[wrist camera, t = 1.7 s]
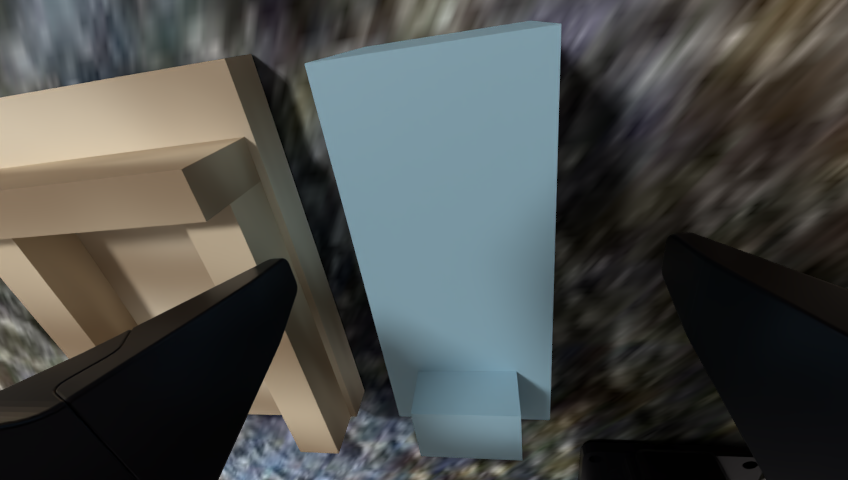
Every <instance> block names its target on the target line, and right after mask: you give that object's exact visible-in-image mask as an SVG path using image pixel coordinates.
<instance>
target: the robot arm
mask: <svg viewBox="0 0 848 480" xmlns="http://www.w3.org/2000/svg"><path fill="white" fill-rule="evenodd" d="M662 275H663V278H664V280H665V283H666V285H667V288H668V291H669V293H670V296H671V298H672V301H673V303H674V306H675V308H676V311H677V313H678V316H679V318H680V321H681V323H682V326H683V328H684V330H685V333H686V335H687V337H688V339H689V341H690V343H691V345H692V346H693V348H694V350H695V352H696V354H697V355H698V357H699V359H700V361H701V363H702V365H703V366H704V368H705V370H706V372H707V374H708V375H709V377H710V379H711V381H712V383H713V384H714V386H715V388H716V390H717V392H718V393H719V395H720V397H721V399H722V401H723V403H724V404H725V406H726V408H727V410H728V412H729V413H730V415H731V417H732V419H733V421H734V422H735V424H736V426H737V428H738V430H739V431H740V433H741V435H742V437H743V439H744V441H745V442H746V444H747V446H748V447H731V446H699V445H667V444H635V443H603V442H590V443H586V444H584V445H583V446H582V447H581V449H580V461H579V473H578V480H759V477H760V475H761V473H763V475H764V477H765V479H766V480H848V289H845V288H842V287H840V286H837V285H834V284H831V283H829V282H826V281H823V280H820V279H818V278H815V277H812V276H809V275H807V274H804V273H801V272H798V271H796V270H793V269H790V268H787V267H785V266H782V265H779V264H777V263H774V262H771V261H768V260H766V259H763V258H760V257H757V256H755V255H752V254H749V253H746V252H744V251H741V250H738V249H735V248H733V247H730V246H727V245H724V244H722V243H719V242H716V241H713V240H711V239H708V238H705V237H702V236H700V235H697V234H694V233H674V234H671V235H669V236H668V238H667V241H666V246H665V252H664V257H663V263H662ZM297 290H298V287H297V282H296V280H295V277H294V275H293V272H292V269H291V267H290V264H289V262H288V261H287V260H286V259H284V258H275V259H269V260H267V261H265V262H263V263H261V264H259V265H257V266H255V267H253V268H251V269H249V270H247V271H245V272H243V273H241V274H239V275H237V276H235V277H233V278H231V279H229V280H227V281H225V282H223V283H221V284H219V285H217V286H215V287H213V288H211V289H209V290H207V291H205V292H203V293H201V294H199V295H197V296H195V297H193V298H191V299H189V300H187V301H185V302H183V303H181V304H179V305H177V306H175V307H173V308H171V309H169V310H167V311H165V312H163V313H161V314H159V315H157V316H155V317H153V318H151V319H149V320H147V321H145V322H143V323H141V324H139V325H137V326H136V327H134V328H133V329H132V330H127V331H125V332H123V333H121V334H119V335H118V336H116V337H114V338H112V339H109V340H107V341H105V342H103V343H101V344H99V345H97V346H95V347H93V348H91V349H89V350H87V351H85V352H83V353H81V354H79V355H77V356H74V357H72V358H70V359H68V360H66V361H64V362H62V363H60V364H57V365H55V366H53V367H51V368H49V369H47V370H44V371H42V372H40V373H38V374H36V375H34V376H31V377H29V378H27V379H25V380H23V381H21V382H18V383H16V384H14V385H12V386H10V387H8V388H5V389H3V390H1V391H0V480H218V479H219V477H220V475H221V473H222V470H223V468H224V466H225V464H226V462H227V459H228V457H229V455H230V453H231V451H232V448H233V446H234V444H235V442H236V440H237V437H238V435H239V433H240V431H241V429H242V426H243V424H244V422H245V420H246V418H247V415H248V413H249V411H250V409H251V407H252V404H253V402H254V400H255V398H256V396H257V393H258V391H259V389H260V387H261V385H262V382H263V380H264V378H265V376H266V374H267V371H268V369H269V367H270V365H271V363H272V360H273V358H274V356H275V354H276V352H277V349H278V347H279V345H280V342H281V340H282V337H283V334H284V331H285V328H286V325H287V322H288V319H289V316H290V313H291V310H292V307H293V304H294V301H295V298H296V295H297Z"/></svg>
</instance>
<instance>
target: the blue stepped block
mask: <svg viewBox="0 0 848 480" xmlns="http://www.w3.org/2000/svg"><path fill="white" fill-rule="evenodd" d="M560 55H561V24H558V23H549V22H539V21H527V22H520V23H514V24H508V25H501V26H495V27H489V28H482V29H476V30H469V31H463V32H457V33H450V34H444V35H438V36H431V37H425V38H419V39H412V40H406V41H400V42H393V43H387V44H381V45H374V46H368V47H363V48H359V49H356V50H352V51H348V52H345V53H341V54H337V55H334V56H330V57H326V58H323V59H319V60H315V61H312V62H308V63H304V64H305V68H306V71H307V75H308V79H309V82H310V86H311V90H312V94H313V97H314V101H315V105H316V108H317V112H318V116H319V119H320V123H321V127H322V131H323V134H324V138H325V142H326V145H327V149H328V153H329V156H330V160H331V164H332V168H333V171H334V175H335V179H336V182H337V186H338V190H339V193H340V197H341V201H342V205H343V208H344V212H345V216H346V219H347V223H348V227H349V231H350V234H351V238H352V242H353V245H354V249H355V253H356V256H357V260H358V264H359V268H360V271H361V275H362V279H363V282H364V286H365V290H366V293H367V297H368V301H369V305H370V308H371V312H372V316H373V319H374V323H375V327H376V331H377V334H378V338H379V342H380V345H381V349H382V353H383V356H384V360H385V364H386V368H387V371H388V375H389V379H390V382H391V386H392V390H393V393H394V397H395V401H396V405H397V408H398V412H399V416H405V417H412V421H413V425H414V429H415V433H416V437H417V441H418V445H419V449H420V453H421V456H433V457H456V458H479V459H502V460H522V433H521V419H529V420H550V400H551V366H552V331H553V297H554V262H555V228H556V193H557V159H558V124H559V90H560Z"/></svg>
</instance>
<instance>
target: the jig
mask: <svg viewBox="0 0 848 480" xmlns="http://www.w3.org/2000/svg"><path fill="white" fill-rule="evenodd" d="M275 258H284V259H286V260H287V261H288V262H289V264H290V267H291V269H292V272H293V275H294V277H295V280H296V282H297V287H298V290H297V295H296V298H295V301H294V304H293V307H292V310H291V313H290V316H289V319H288V322H287V325H286V328H285V331H284V334H283V337H282V340H281V342H280V345H279V347H278V349H277V352H276V354H275V356H274V358H273V360H272V363H271V365H270V367H269V369H268V371H267V374H266V376H265V378H264V380H263V382H262V385H261V387H260V389H259V391H258V393H257V396H256V398H255V400H254V402H253V404H252V407H251V409H250V411H249V413H248V414H264V415H282V416H283V418H284V420H285V422H286V424H287V426H288V428H289V430H290V432H291V434H292V436H293V438H294V440H295V441H296V443H297V445H298V447H299V449H300V451H301V452H318V453H339V451H340V448H341V445H342V442H343V439H344V436H345V433H346V430H347V426H348V423H349V420H350V417H351V416H355V417H357V414H358V411H359V408H360V404H361V401H362V398H363V395H364V392H365V391H364V388H363V385H362V382H361V379H360V376H359V373H358V370H357V367H356V364H355V361H354V358H353V355H352V352H351V349H350V346H349V343H348V340H347V337H346V334H345V331H344V328H343V325H342V322H341V319H340V316H339V313H338V310H337V307H336V304H335V301H334V298H333V295H332V292H331V289H330V287H329V284H328V281H327V278H326V275H325V272H324V269H323V266H322V263H321V260H320V257H319V254H318V251H317V248H316V245H315V242H314V239H313V236H312V233H311V230H310V227H309V224H308V221H307V218H306V215H305V212H304V209H303V206H302V203H301V200H300V197H299V194H298V191H297V188H296V185H295V182H294V180H293V177H292V174H291V171H290V168H289V165H288V162H287V159H286V156H285V153H284V150H283V147H282V144H281V141H280V138H279V135H278V132H277V129H276V126H275V123H274V120H273V117H272V114H271V111H270V108H269V105H268V102H267V99H266V96H265V93H264V90H263V87H262V84H261V81H260V78H259V75H258V72H257V70H256V67H255V64H254V61H253V58H252V55H251V54H248V55H242V56H236V57H230V58H225V59H219V60H213V61H207V62H202V63H196V64H190V65H185V66H179V67H173V68H167V69H162V70H156V71H150V72H145V73H139V74H133V75H127V76H122V77H116V78H110V79H104V80H99V81H93V82H87V83H82V84H76V85H70V86H64V87H59V88H53V89H47V90H42V91H36V92H30V93H24V94H19V95H13V96H7V97H2V98H0V277H1V279H2V280H3V281H4V282H5V283H6V285H7V286H8V287H9V288H10V289H11V291H12V292H13V293H14V294H15V295H16V296H17V298H18V299H19V300H20V301H21V302H22V304H23V305H24V306H25V307H26V308H27V309H28V311H29V312H30V313H31V314H32V315H33V317H34V318H35V319H36V320H37V321H38V322H39V324H40V325H41V326H42V327H43V328H44V330H45V331H46V332H47V333H48V334H49V336H50V337H51V338H52V339H53V340H54V341H55V343H56V344H57V345H58V346H59V347H60V349H61V350H62V351H63V352H64V353H65V354H66V356H67V357H68V358H69V359H70V358H72V357H74V356H77V355H79V354H81V353H83V352H85V351H87V350H89V349H91V348H93V347H95V346H97V345H99V344H101V343H103V342H105V341H107V340H109V339H112V338H114V337H116V336H118V335H119V334H121V333H123V332H125V331H127V330H132V329H133V328H134V327H136V326H137V325H139V324H141V323H143V322H145V321H147V320H149V319H151V318H153V317H155V316H157V315H159V314H161V313H163V312H165V311H167V310H169V309H171V308H173V307H175V306H177V305H179V304H181V303H183V302H185V301H187V300H189V299H191V298H193V297H195V296H197V295H199V294H201V293H203V292H205V291H207V290H209V289H211V288H213V287H215V286H217V285H219V284H221V283H223V282H225V281H227V280H229V279H231V278H233V277H235V276H237V275H239V274H241V273H243V272H245V271H247V270H249V269H251V268H253V267H255V266H257V265H259V264H261V263H263V262H265V261H267V260H269V259H275Z"/></svg>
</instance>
